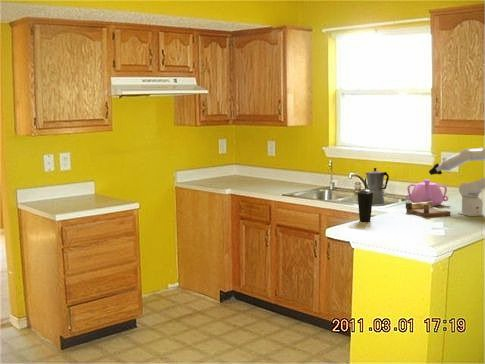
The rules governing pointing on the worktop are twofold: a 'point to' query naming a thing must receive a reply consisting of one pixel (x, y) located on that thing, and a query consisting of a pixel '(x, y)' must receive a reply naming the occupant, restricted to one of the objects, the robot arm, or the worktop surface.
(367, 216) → the drinking cup
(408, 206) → the birch leg
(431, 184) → the teapot
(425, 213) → the walnut stool seat
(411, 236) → the worktop surface
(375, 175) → the moka pot
